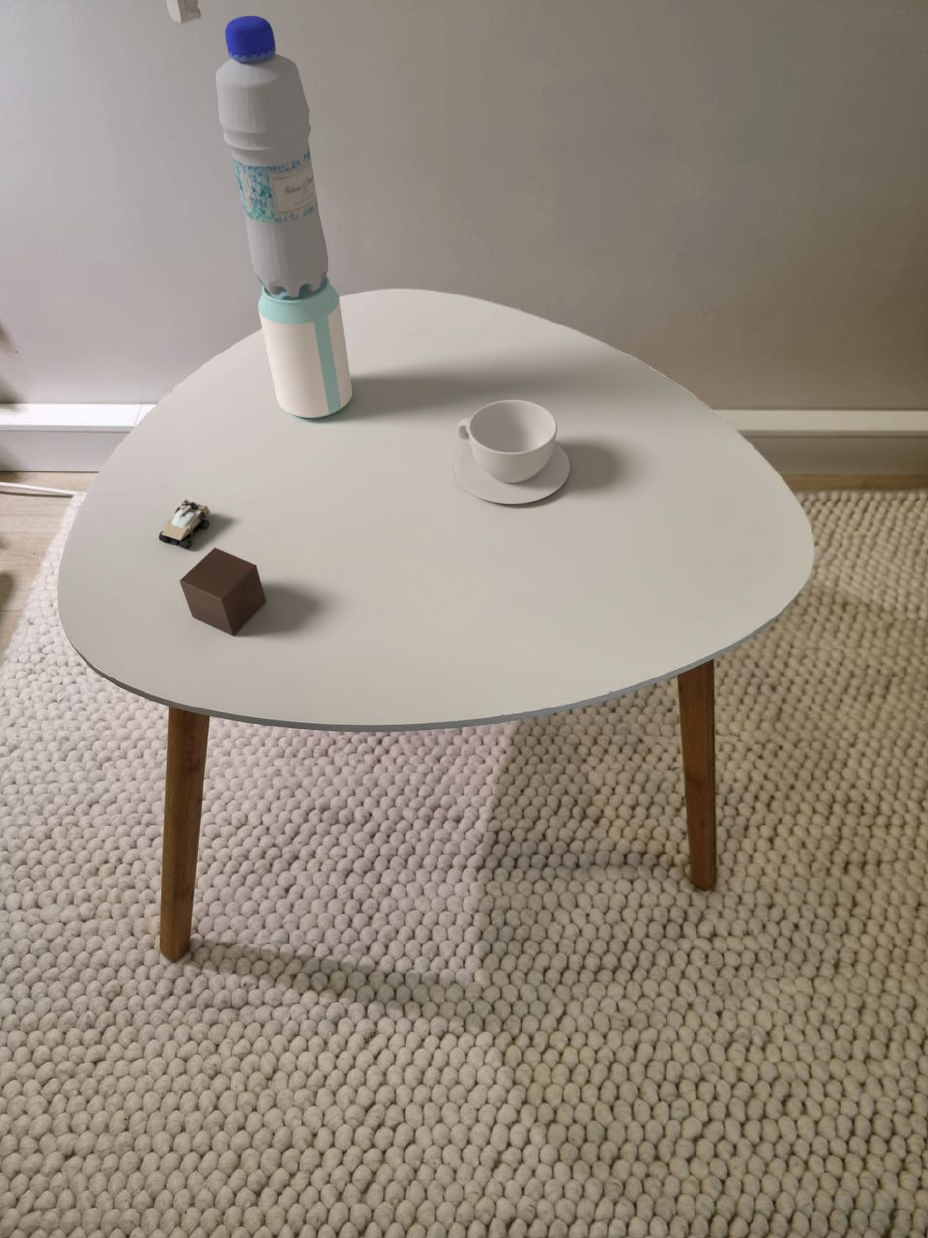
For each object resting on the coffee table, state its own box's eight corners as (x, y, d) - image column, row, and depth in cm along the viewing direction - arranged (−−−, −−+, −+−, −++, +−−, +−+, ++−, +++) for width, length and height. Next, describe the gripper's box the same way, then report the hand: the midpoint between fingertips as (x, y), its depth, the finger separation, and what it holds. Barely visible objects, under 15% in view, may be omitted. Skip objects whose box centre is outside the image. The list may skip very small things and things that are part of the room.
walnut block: (233, 636, 71) (221, 600, 68) (192, 617, 72) (178, 580, 69) (266, 601, 73) (256, 565, 70) (226, 583, 74) (214, 546, 71)
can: (265, 397, 91) (239, 280, 82) (328, 370, 93) (310, 254, 84) (302, 432, 87) (279, 314, 78) (367, 403, 89) (352, 285, 80)
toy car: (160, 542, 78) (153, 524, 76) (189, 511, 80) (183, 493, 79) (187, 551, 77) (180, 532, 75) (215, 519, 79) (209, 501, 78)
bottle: (295, 312, 78) (245, 39, 63) (238, 289, 81) (178, 22, 66) (350, 278, 81) (315, 11, 66) (293, 256, 84) (248, -5, 69)
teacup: (587, 452, 84) (590, 408, 80) (540, 521, 78) (542, 477, 74) (485, 423, 87) (484, 379, 83) (433, 487, 81) (430, 443, 78)
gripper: (317, -290, 61) (343, -37, 72) (11, -253, 53) (91, 28, 63) (375, -284, 58) (394, -19, 68) (58, -244, 50) (135, 51, 60)
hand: (246, 4), depth 66 cm, fingers open, 8 cm apart
